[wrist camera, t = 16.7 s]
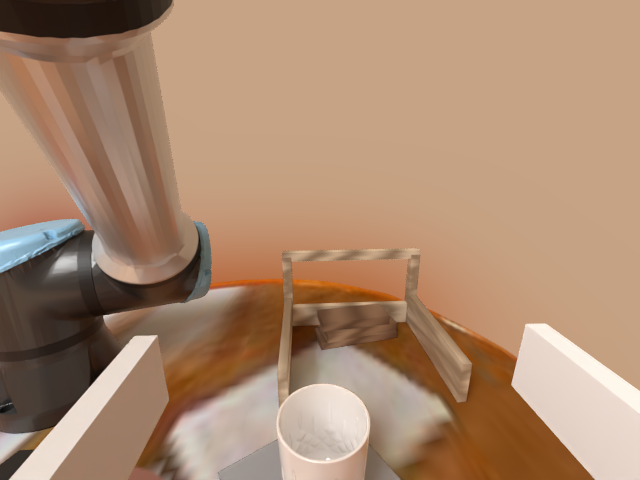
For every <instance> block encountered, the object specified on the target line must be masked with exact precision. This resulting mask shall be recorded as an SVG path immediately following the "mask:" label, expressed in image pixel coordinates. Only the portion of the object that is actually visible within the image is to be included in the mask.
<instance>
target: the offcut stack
mask: <svg viewBox="0 0 640 480" xmlns="http://www.w3.org/2000/svg"><path fill="white" fill-rule="evenodd" d="M317 318H318V320H319V323H320V327H315V335H316V338H317V340H318V342H319V345H320V347H321V349H322V350H325V349H331V348H337V347H343V346H349V345H355V344H361V343H367V342H373V341H379V340H385V339H391V338H397V330H396V329H397V322H396V321H395V320H394V319H393V318H392V317H391V316H390V315H389V314H388V313H387V312H386V311H385V310H384V309H383V307H382V306H381V305H380V304H369V305H359V306H350V307H340V308H330V309H320V310H317Z"/></svg>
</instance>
